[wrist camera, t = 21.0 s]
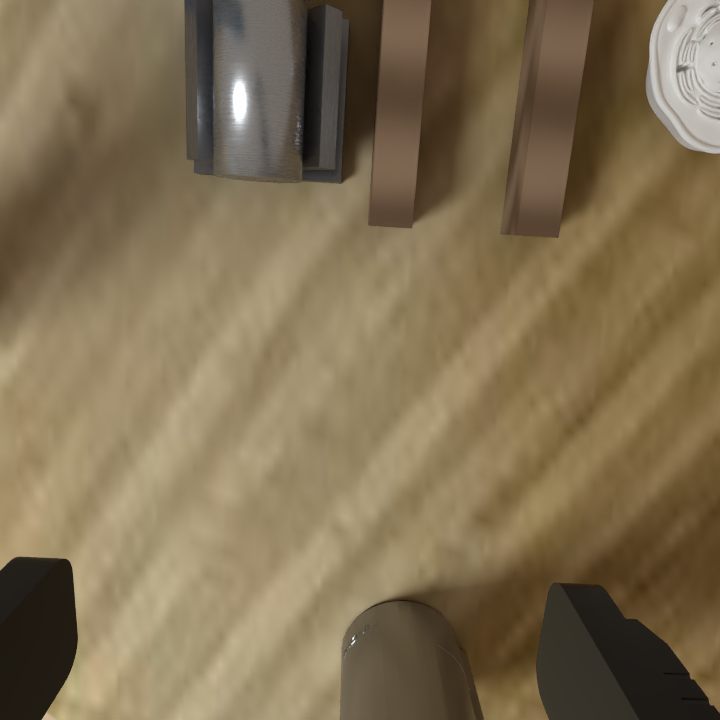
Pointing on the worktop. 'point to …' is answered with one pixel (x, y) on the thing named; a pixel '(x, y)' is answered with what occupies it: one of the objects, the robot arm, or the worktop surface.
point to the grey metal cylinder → (259, 89)
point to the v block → (320, 90)
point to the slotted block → (532, 119)
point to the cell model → (687, 72)
